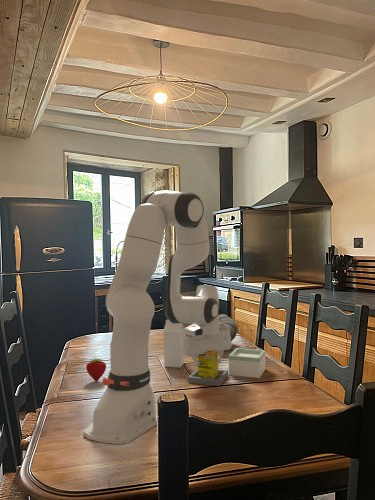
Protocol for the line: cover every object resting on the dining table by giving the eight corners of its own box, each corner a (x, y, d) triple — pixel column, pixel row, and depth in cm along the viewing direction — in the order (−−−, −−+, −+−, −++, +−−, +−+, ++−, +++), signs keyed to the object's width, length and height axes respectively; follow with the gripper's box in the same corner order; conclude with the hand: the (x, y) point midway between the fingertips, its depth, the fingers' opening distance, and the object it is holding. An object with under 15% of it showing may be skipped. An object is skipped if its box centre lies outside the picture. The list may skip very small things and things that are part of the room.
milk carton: (181, 368, 165) (180, 322, 165) (164, 367, 166) (163, 321, 166) (184, 362, 172) (184, 318, 172) (168, 362, 173) (167, 318, 173)
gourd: (239, 335, 211) (235, 303, 208) (240, 356, 186) (235, 320, 183) (192, 339, 214) (187, 308, 211) (187, 360, 189) (182, 326, 186)
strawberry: (104, 384, 147) (103, 356, 147) (84, 384, 147) (83, 357, 147) (108, 378, 153) (107, 352, 153) (88, 378, 153) (88, 352, 153)
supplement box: (198, 380, 149) (197, 351, 149) (203, 375, 155) (203, 347, 155) (213, 382, 147) (212, 352, 147) (218, 376, 152) (217, 348, 152)
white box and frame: (252, 390, 139) (252, 368, 139) (188, 382, 148) (187, 362, 147) (265, 368, 162) (265, 350, 162) (209, 363, 171) (208, 345, 171)
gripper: (225, 323, 159) (225, 358, 159) (180, 329, 148) (180, 366, 148) (234, 326, 153) (235, 362, 153) (188, 332, 143) (189, 371, 143)
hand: (207, 364), depth 151 cm, fingers closed on supplement box, 8 cm apart
